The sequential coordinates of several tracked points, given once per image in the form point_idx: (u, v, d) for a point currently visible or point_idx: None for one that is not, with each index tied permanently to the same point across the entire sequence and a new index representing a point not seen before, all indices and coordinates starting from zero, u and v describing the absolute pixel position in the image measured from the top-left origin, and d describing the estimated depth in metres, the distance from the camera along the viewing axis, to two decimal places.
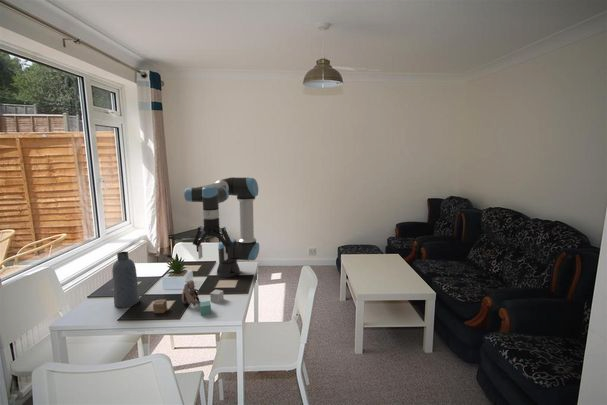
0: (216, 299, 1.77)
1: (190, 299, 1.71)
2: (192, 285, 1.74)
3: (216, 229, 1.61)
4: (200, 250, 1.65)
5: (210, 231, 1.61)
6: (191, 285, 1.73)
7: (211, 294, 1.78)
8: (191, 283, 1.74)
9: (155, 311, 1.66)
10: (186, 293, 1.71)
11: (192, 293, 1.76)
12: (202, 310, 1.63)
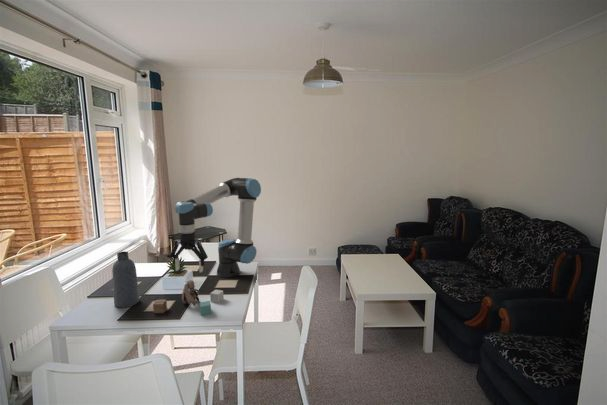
0: (216, 299, 1.77)
1: (190, 299, 1.71)
2: (192, 285, 1.74)
3: (192, 243, 1.69)
4: (177, 262, 1.73)
5: (186, 245, 1.70)
6: (191, 285, 1.73)
7: (211, 294, 1.78)
8: (191, 283, 1.74)
9: (155, 311, 1.66)
10: (186, 293, 1.71)
11: (192, 293, 1.76)
12: (202, 310, 1.63)
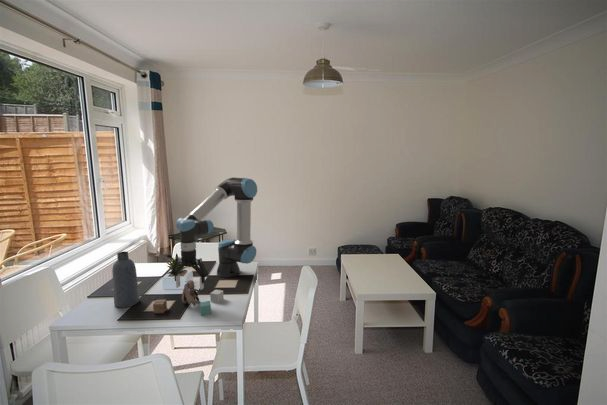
0: (216, 299, 1.77)
1: (190, 299, 1.71)
2: (192, 285, 1.74)
3: (193, 260, 1.71)
4: (178, 279, 1.75)
5: (187, 262, 1.71)
6: (191, 285, 1.73)
7: (211, 294, 1.78)
8: (191, 283, 1.74)
9: (155, 311, 1.66)
10: (186, 293, 1.71)
11: (192, 293, 1.76)
12: (202, 310, 1.63)
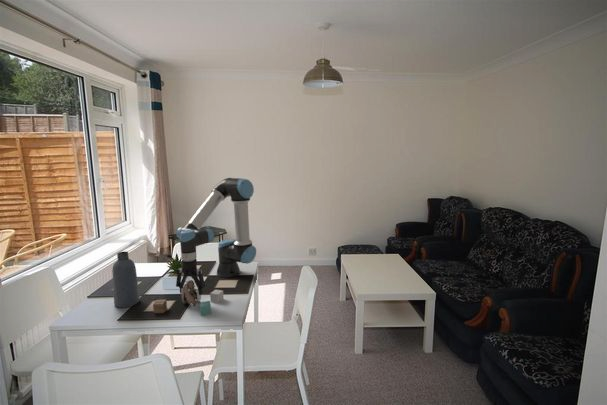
0: (216, 299, 1.77)
1: (190, 299, 1.71)
2: (192, 285, 1.74)
3: (193, 270, 1.72)
4: None
5: (188, 271, 1.72)
6: (191, 285, 1.73)
7: (211, 294, 1.78)
8: (191, 283, 1.74)
9: (155, 311, 1.66)
10: (186, 293, 1.71)
11: (192, 293, 1.76)
12: (202, 310, 1.63)
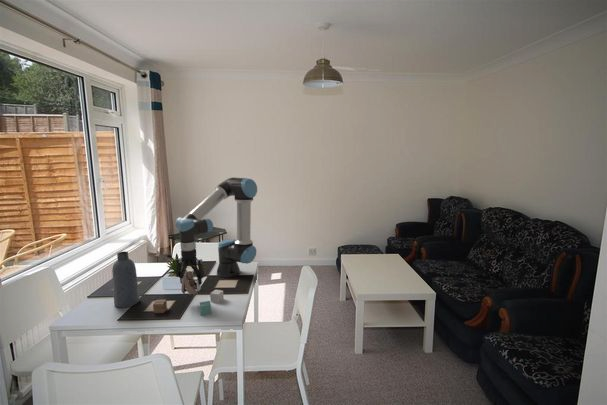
0: (216, 299, 1.77)
1: (190, 289, 1.71)
2: (191, 276, 1.73)
3: (193, 260, 1.71)
4: None
5: (187, 261, 1.72)
6: (190, 276, 1.73)
7: (211, 294, 1.78)
8: (190, 274, 1.73)
9: (155, 311, 1.66)
10: (186, 284, 1.71)
11: (192, 284, 1.75)
12: (202, 310, 1.63)
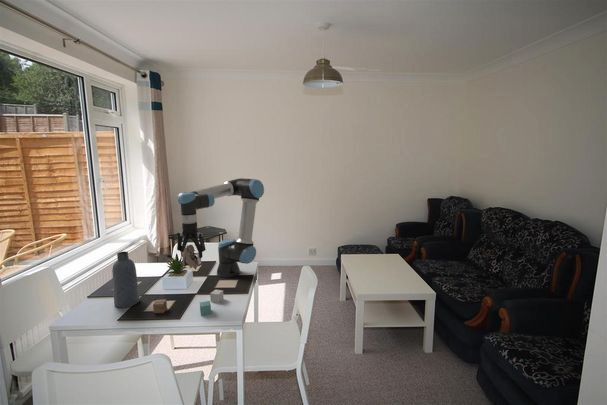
0: (216, 299, 1.77)
1: (191, 262, 1.71)
2: (192, 249, 1.73)
3: (194, 233, 1.71)
4: None
5: (188, 234, 1.72)
6: (191, 249, 1.73)
7: (211, 294, 1.78)
8: (191, 247, 1.73)
9: (155, 311, 1.66)
10: (186, 257, 1.71)
11: (192, 257, 1.75)
12: (202, 310, 1.63)
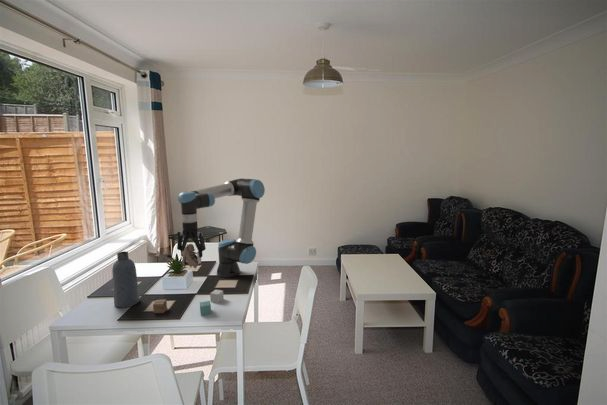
0: (216, 299, 1.77)
1: (191, 262, 1.71)
2: (192, 248, 1.73)
3: (194, 232, 1.71)
4: None
5: (189, 233, 1.72)
6: (191, 248, 1.73)
7: (211, 294, 1.78)
8: (191, 246, 1.73)
9: (155, 311, 1.66)
10: (186, 256, 1.71)
11: (192, 257, 1.76)
12: (202, 310, 1.63)
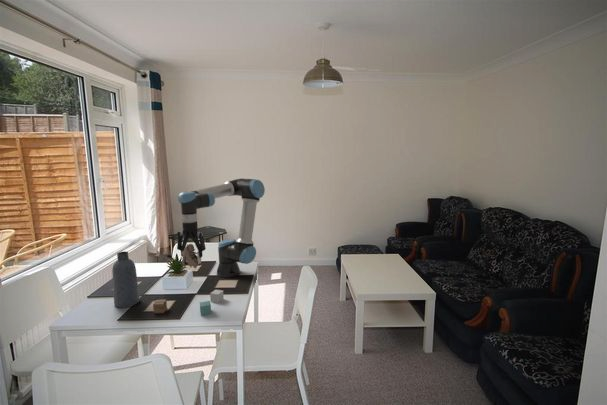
0: (216, 299, 1.77)
1: (191, 262, 1.71)
2: (192, 248, 1.73)
3: (194, 232, 1.71)
4: None
5: (189, 233, 1.72)
6: (191, 248, 1.73)
7: (211, 294, 1.78)
8: (191, 246, 1.73)
9: (155, 311, 1.66)
10: (186, 256, 1.71)
11: (192, 257, 1.76)
12: (202, 310, 1.63)
